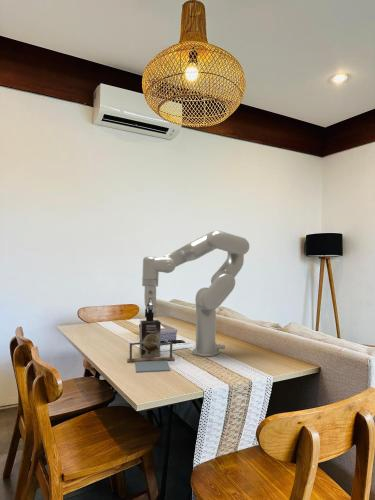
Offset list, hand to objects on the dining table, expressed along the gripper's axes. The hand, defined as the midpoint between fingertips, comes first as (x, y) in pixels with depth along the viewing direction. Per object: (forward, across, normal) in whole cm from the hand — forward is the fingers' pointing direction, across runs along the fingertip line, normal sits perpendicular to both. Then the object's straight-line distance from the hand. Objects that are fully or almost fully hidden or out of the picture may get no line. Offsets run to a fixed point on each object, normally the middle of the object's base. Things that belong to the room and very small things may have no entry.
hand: (148, 319), depth 163 cm
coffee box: (+17, 0, -1) cm, 17 cm away
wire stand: (+17, -8, -1) cm, 19 cm away
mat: (+17, -16, -1) cm, 24 cm away
